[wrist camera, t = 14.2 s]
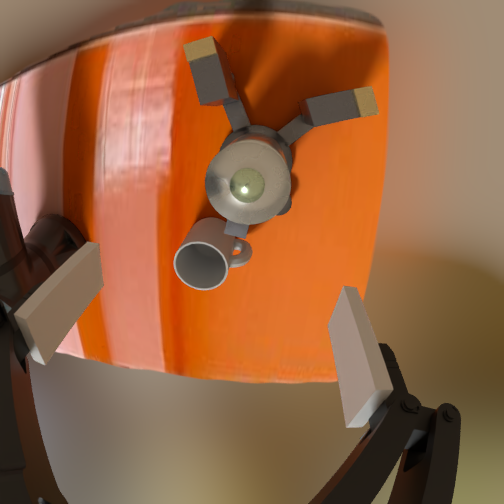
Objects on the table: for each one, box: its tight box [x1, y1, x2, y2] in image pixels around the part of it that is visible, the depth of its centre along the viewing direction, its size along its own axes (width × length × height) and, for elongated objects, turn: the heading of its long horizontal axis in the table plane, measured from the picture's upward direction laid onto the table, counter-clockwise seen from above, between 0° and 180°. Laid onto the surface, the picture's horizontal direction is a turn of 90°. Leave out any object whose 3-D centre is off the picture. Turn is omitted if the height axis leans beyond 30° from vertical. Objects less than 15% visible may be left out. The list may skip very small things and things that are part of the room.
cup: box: [174, 217, 252, 290], centre depth 41 cm, size 7×10×9 cm
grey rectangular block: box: [183, 36, 239, 106], centre depth 29 cm, size 7×3×12 cm, turn 13°
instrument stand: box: [205, 91, 313, 239], centre depth 32 cm, size 13×16×15 cm
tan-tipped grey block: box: [298, 86, 379, 127], centre depth 30 cm, size 7×3×12 cm, turn 108°
